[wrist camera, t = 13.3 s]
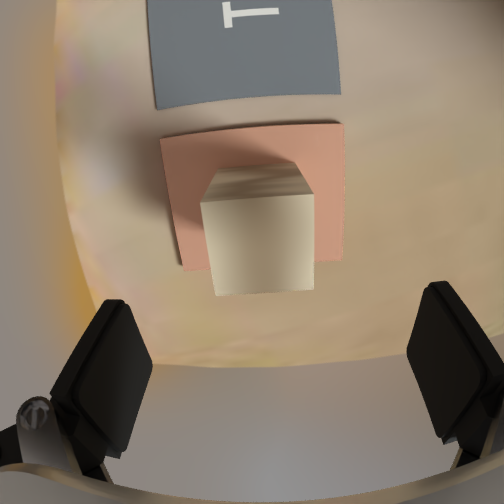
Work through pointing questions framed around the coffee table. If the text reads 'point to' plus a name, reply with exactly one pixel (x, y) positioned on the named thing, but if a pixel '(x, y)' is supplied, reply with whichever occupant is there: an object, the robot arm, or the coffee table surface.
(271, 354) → the coffee table surface
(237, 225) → the maple block
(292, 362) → the coffee table surface
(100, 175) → the coffee table surface
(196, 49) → the gray tile
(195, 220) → the pad
